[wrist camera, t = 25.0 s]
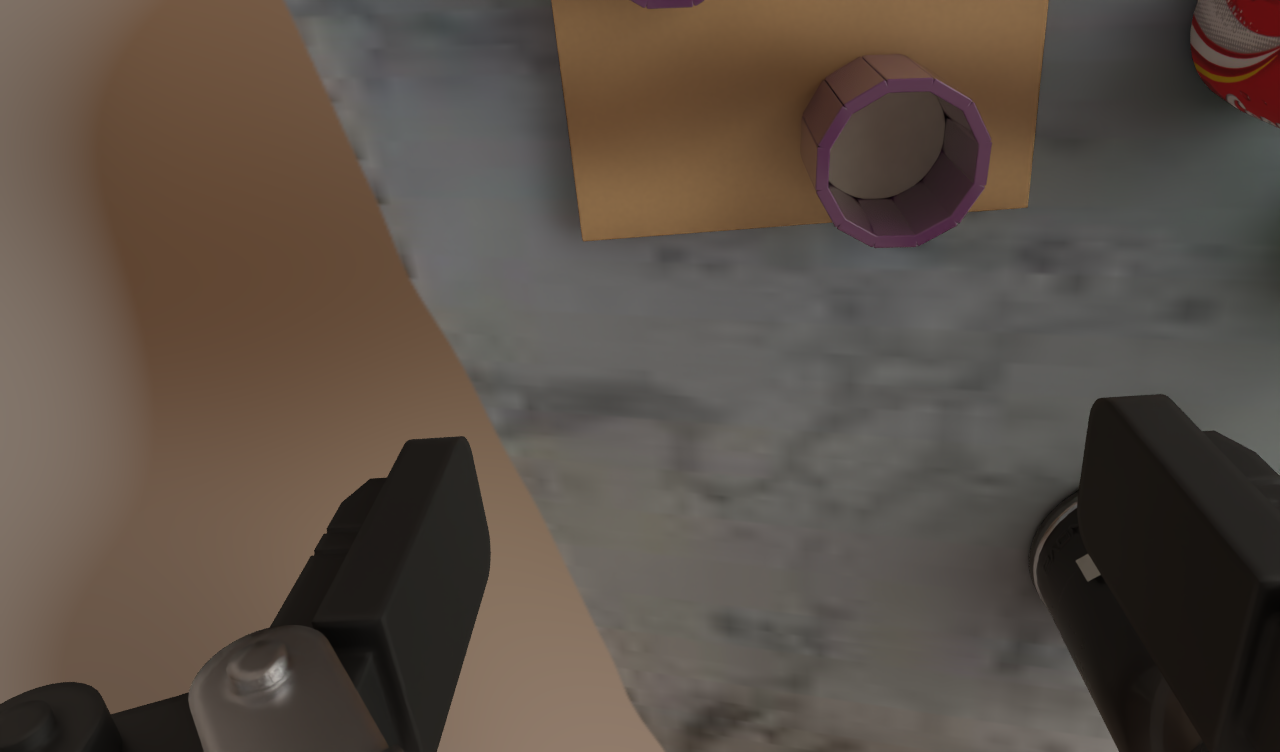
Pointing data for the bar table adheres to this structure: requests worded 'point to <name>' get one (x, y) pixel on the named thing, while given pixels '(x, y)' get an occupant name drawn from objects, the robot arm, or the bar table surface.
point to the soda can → (1240, 53)
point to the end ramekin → (894, 151)
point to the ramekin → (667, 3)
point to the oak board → (766, 100)
